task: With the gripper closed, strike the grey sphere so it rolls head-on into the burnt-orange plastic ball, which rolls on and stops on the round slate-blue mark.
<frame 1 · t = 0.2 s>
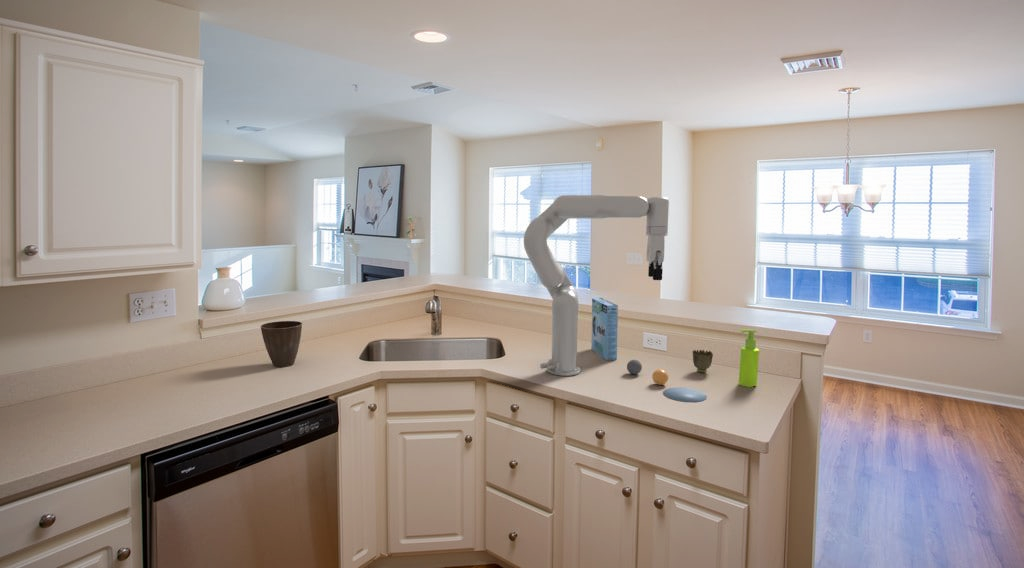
hand: (655, 278, 205), 37 cm above the worktop, tool pointing down, fingers open, 9 cm apart
cup: (701, 372, 214), on the worktop
gum box: (603, 354, 239), on the worktop
grey sphere: (634, 367, 210), on the worktop
soap dispenser: (746, 385, 199), on the worktop
object ball: (660, 377, 198), on the worktop
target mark: (684, 394, 188), on the worktop
plant pot: (283, 365, 219), on the worktop
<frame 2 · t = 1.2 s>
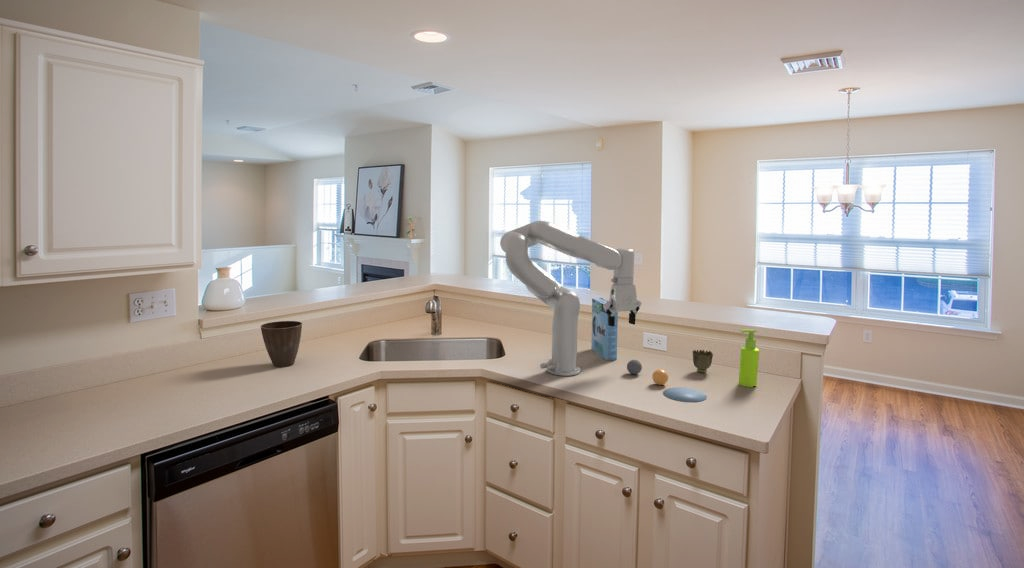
hand: (621, 324, 216), 17 cm above the worktop, tool pointing down, fingers open, 9 cm apart
nothing on the worktop moved.
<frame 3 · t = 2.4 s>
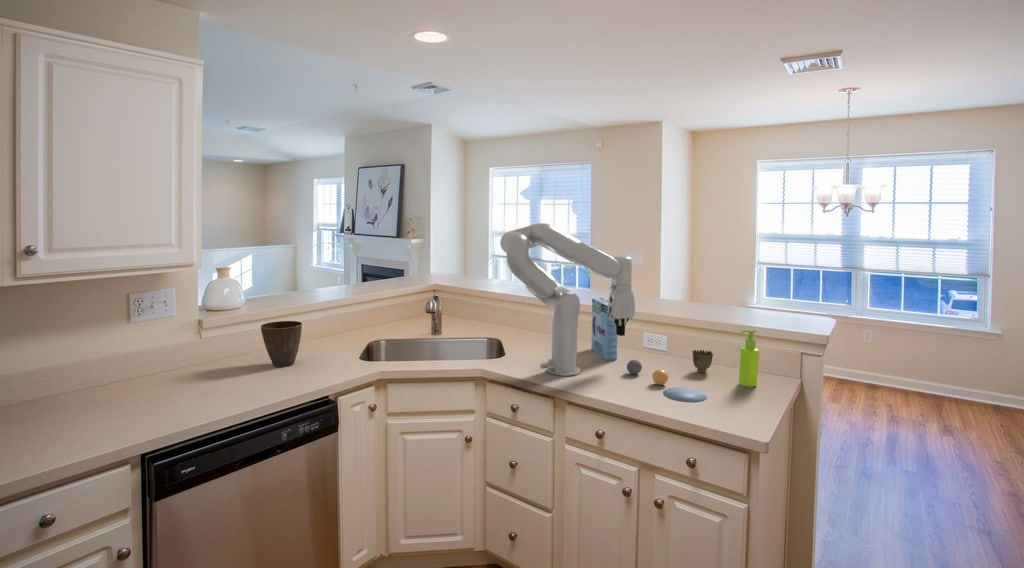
hand: (620, 334, 217), 13 cm above the worktop, tool pointing down, fingers closed
nothing on the worktop moved.
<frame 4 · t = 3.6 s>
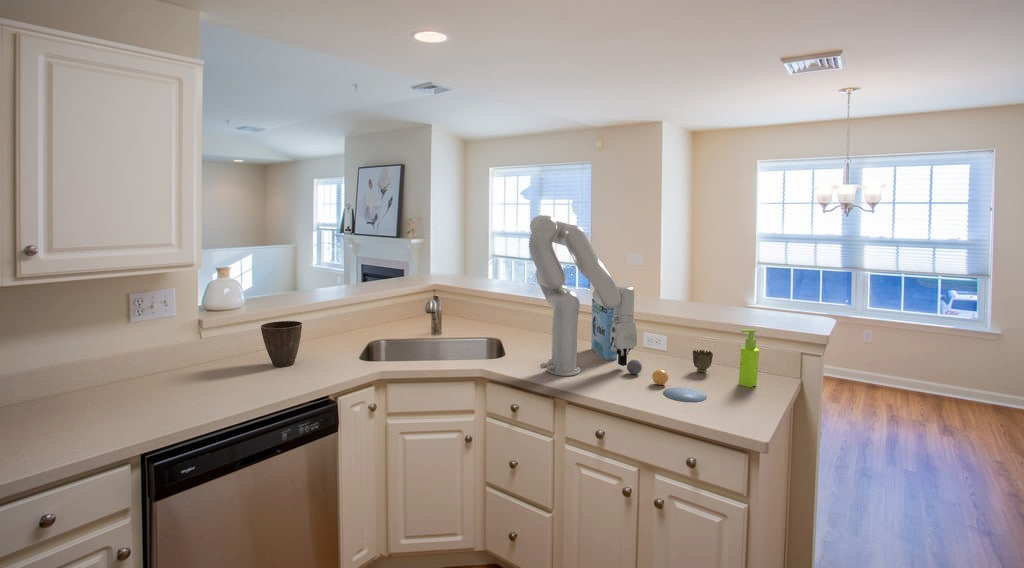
hand: (622, 364, 217), 2 cm above the worktop, tool pointing down, fingers closed
nothing on the worktop moved.
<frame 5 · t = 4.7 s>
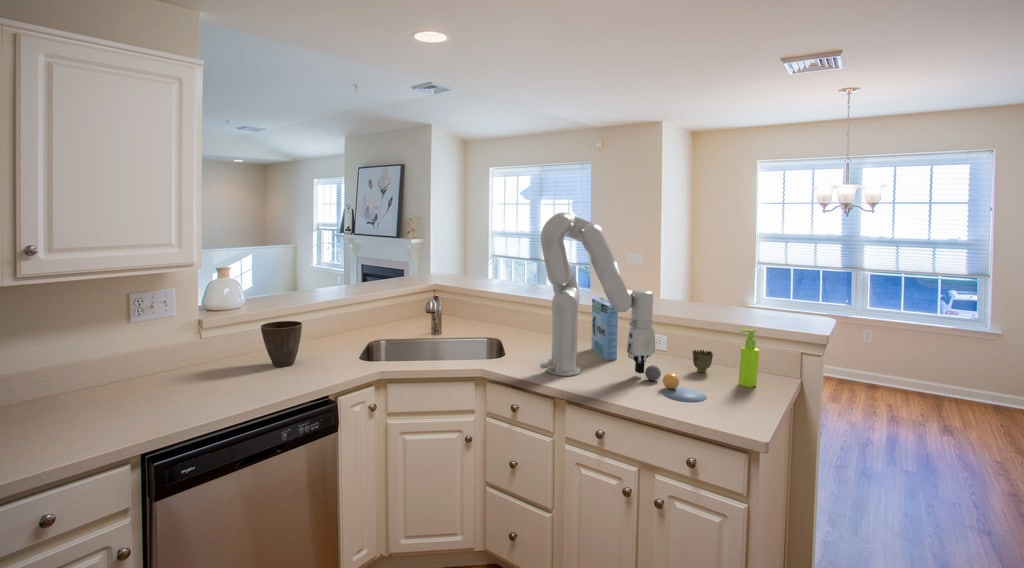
hand: (639, 372, 208), 2 cm above the worktop, tool pointing down, fingers closed
grey sphere: (652, 373, 203), on the worktop
object ball: (671, 381, 193), on the worktop
everything else where it was.
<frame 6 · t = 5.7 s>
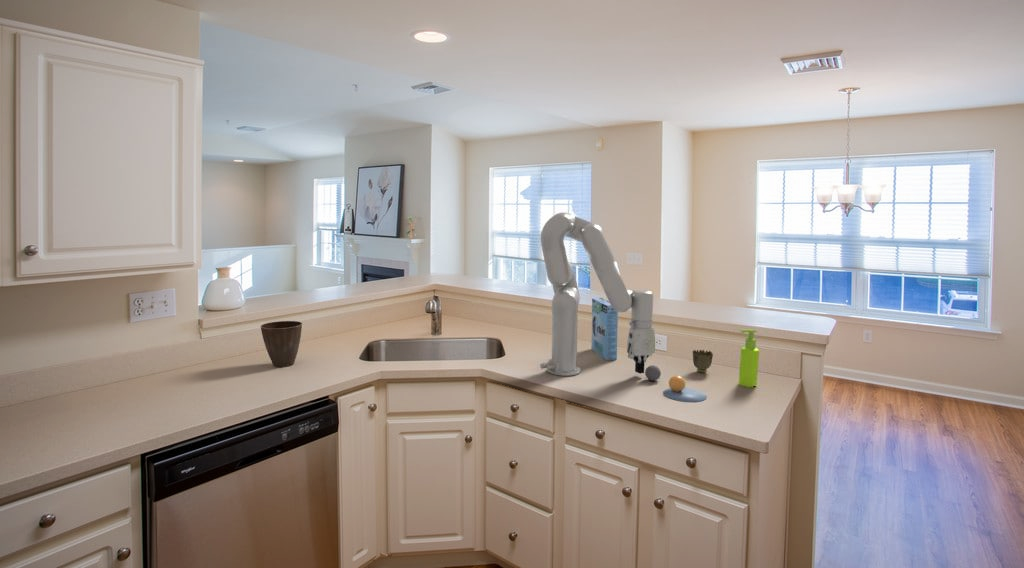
hand: (639, 372, 208), 2 cm above the worktop, tool pointing down, fingers closed
object ball: (677, 383, 191), on the worktop
everything else where it was.
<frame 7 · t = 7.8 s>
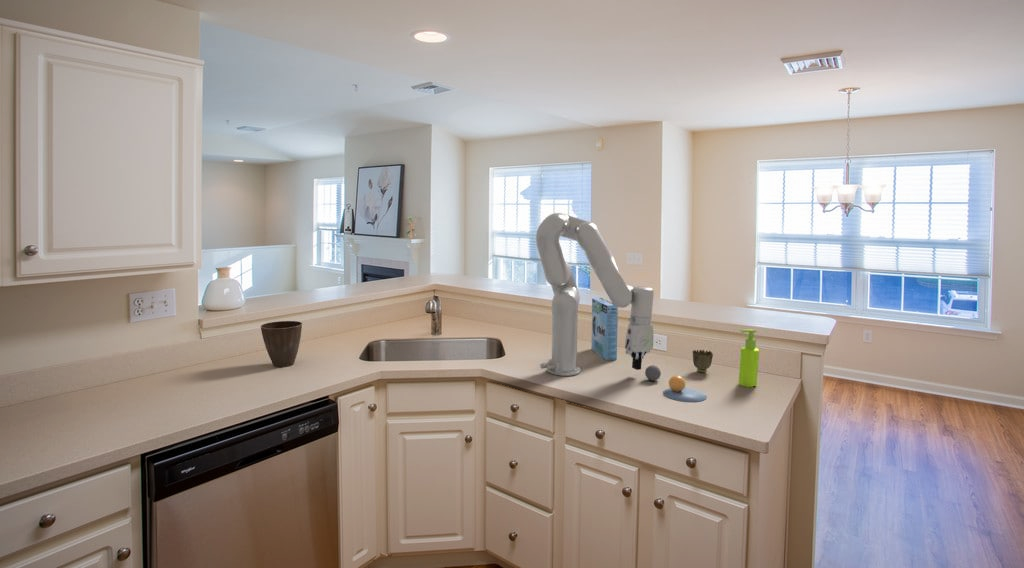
hand: (636, 368, 208), 3 cm above the worktop, tool pointing down, fingers closed
nothing on the worktop moved.
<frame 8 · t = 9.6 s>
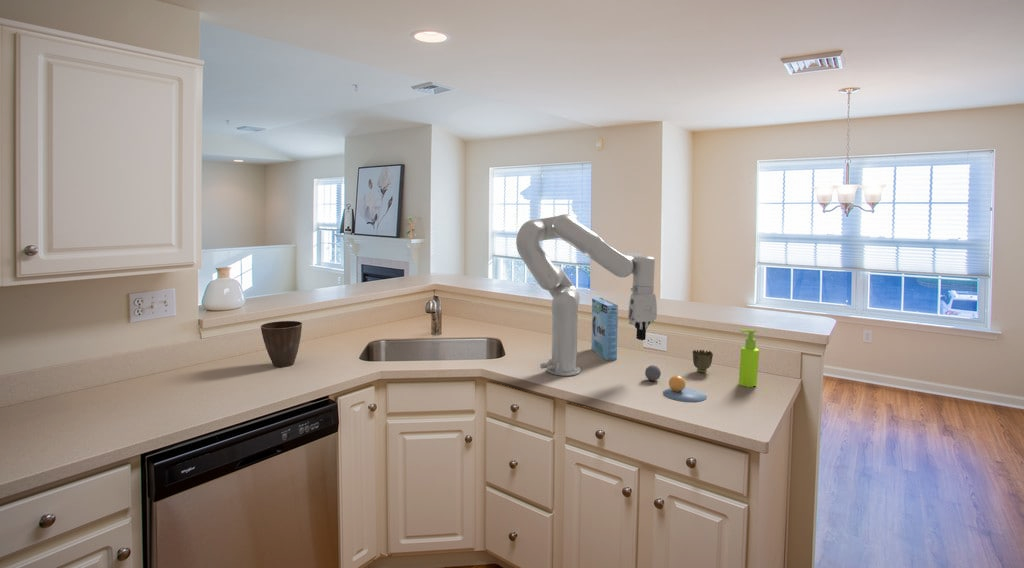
hand: (640, 339, 206), 14 cm above the worktop, tool pointing down, fingers closed
nothing on the worktop moved.
at the end: object ball 3.8 cm from the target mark (horizontally); object ball never touched the robot; grey sphere first touched object ball at 4.1 s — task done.
